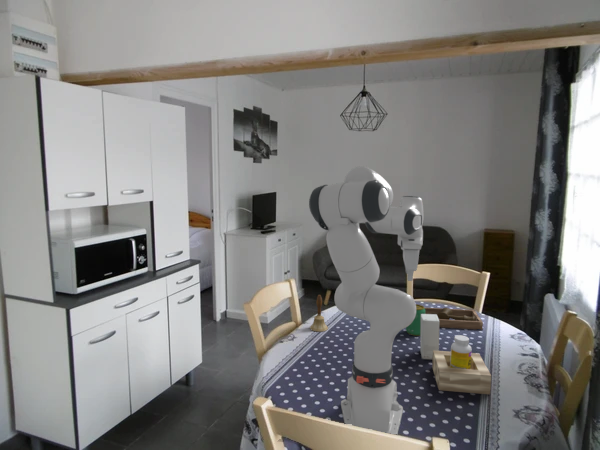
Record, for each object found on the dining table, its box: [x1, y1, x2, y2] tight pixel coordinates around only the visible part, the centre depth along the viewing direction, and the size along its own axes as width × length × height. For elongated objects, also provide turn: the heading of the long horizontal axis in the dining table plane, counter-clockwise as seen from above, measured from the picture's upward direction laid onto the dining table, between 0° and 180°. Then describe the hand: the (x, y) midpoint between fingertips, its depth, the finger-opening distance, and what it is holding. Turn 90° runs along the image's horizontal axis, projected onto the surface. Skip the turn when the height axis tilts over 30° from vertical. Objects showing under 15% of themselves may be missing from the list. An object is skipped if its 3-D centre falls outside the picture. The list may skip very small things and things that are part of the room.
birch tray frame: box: [431, 350, 492, 395], centre depth 144 cm, size 16×16×7 cm
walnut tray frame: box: [424, 307, 484, 331], centre depth 198 cm, size 16×26×4 cm, turn 80°
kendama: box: [431, 307, 475, 321], centre depth 196 cm, size 6×10×20 cm
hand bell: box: [309, 294, 329, 333], centre depth 189 cm, size 8×8×16 cm
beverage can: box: [405, 303, 426, 337], centre depth 184 cm, size 8×8×12 cm
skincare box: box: [419, 314, 440, 361], centre depth 162 cm, size 8×7×16 cm
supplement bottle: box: [450, 334, 473, 369], centre depth 143 cm, size 7×7×13 cm
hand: (409, 276), depth 154 cm, fingers open, 8 cm apart
